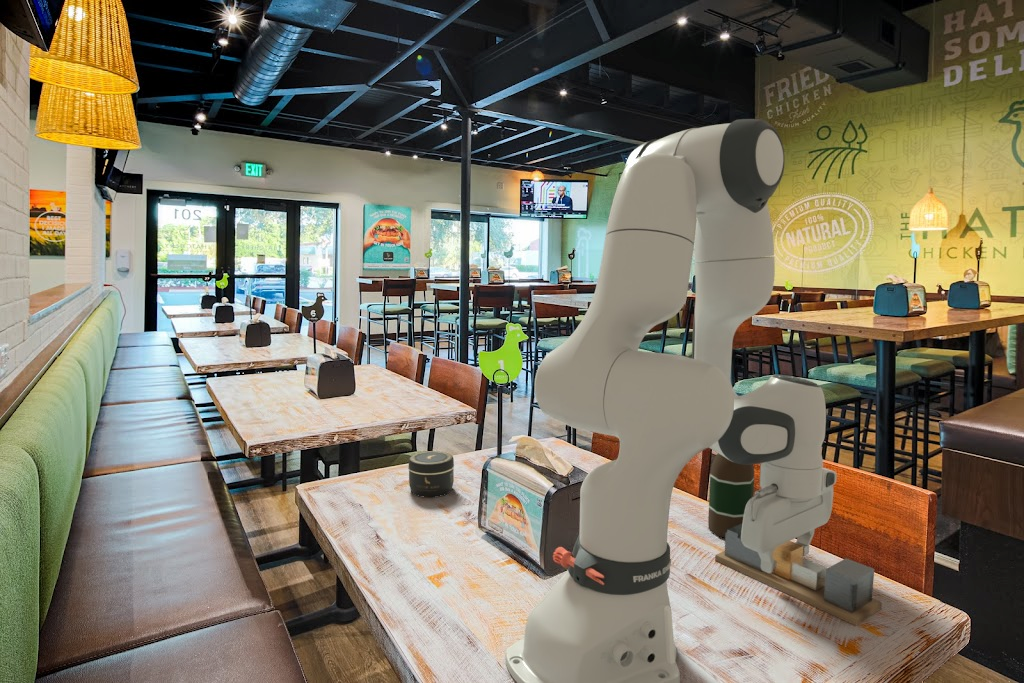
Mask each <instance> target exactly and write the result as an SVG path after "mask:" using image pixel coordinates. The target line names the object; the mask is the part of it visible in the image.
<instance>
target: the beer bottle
mask: <svg viewBox="0 0 1024 683" xmlns="http://www.w3.org/2000/svg"><path fill="white" fill-rule="evenodd" d="M710 466H711V467H710V474H709V498H708V516H707V517H708V525H707V526H708V531H709V532H711V531H712V532H713V533H714V536H716V537H717V536H720V537H719V538H721V537H724V538H723V539H725V535H726V532H727V529H730V528H732V527H735V526H737V525H740V524H742V523H743V517H744V511H745V507H746V504H747V502H748V501H749V499H751V498H752V497H753V496H754V495H755V491H754V490H755V466H754V464H752V465H742V464H737V463H735V462H732V461H730V460H728V459H727V458H725V457H724V456H722V455H720V454H718V453H716V455H715V456H714V459H713V460H712V463H711V464H710ZM712 532H711V533H712ZM713 533H712V534H713Z"/></svg>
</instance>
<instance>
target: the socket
mask: <svg viewBox="0 0 1024 683" xmlns="http://www.w3.org/2000/svg"><path fill="white" fill-rule="evenodd" d="M874 577H875V568H873V567H870V566H867V565H865V564H862V563H860V562H858V561H855V560H852V559H849V558H847V557H845V558H844V559H842V560H840V561H838V562H836V563H834V564H833V565H830V566H829V567H827V569H826V578H825V593H824V601H826V602H828V603H830V604H832V605H834V606H837V607H839V608H841V609H843V610H846V611H848V612H850V613H854V612H855V611H857V610H858V609H860V608H861V607H863V606H864V605H866V604H868V603H869V602H871V601H872V598H873V590H874V579H875V578H874Z"/></svg>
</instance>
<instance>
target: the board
mask: <svg viewBox="0 0 1024 683" xmlns="http://www.w3.org/2000/svg"><path fill="white" fill-rule="evenodd" d="M714 557H715V559H714V561H716V562H717V563H719V564H722V565H724V566H726V567H728V568H730V567H731V569H732V568H733V569H732V570H734V571H738V572H740V573H741V574H743V573H744V574H743V575H745V576H748V577H751V578H752V579H754V580H756V581H758V580H759V582H760V583H763V584H766V585H768V586H769V587H771V586H772V587H771V588H773V587H774V589H776V590H778V591H780V592H782V593H784V594H786V595H788V596H791V597H793V598H795V599H798V600H799V601H802V602H804V603H806V604H809V605H810V606H813V607H814V608H817V609H818V610H821V611H824V612H826V613H828V614H830V615H831V616H832V615H833V616H834V617H836V618H838V619H840V620H843V621H845V622H847V623H849V624H850V625H853V626H858V625H860V624H861V623H862V622H864V621H865V620H867V619H868V618H870V617H871V616H873V615H874V614H875V613H877V612H878V611H880V610H881V609H883V608H882V606H883V601H882V600H879V599H877V598H874V597H872V601H871V602H869V603H868V604H866V605H864V606H863V607H861V608H860V609H858V610H857V611H855V612H854V613H850V612H848V611H846V610H843V609H841V608H839V607H837V606H834V605H832V604H830V603H828V602H826V601H824V593H825V586H823V587H821V588H819V589H818V590H814V589H812V588H809V587H807V586H805V585H802V584H800V583H798V582H796V581H793V580H791V579H790V580H789V579H786V578H784V577H782V576H780V575H777V574H775V573H773V572H772V573H767V572H765V571H764V572H760V571H758V570H756V569H754V568H751V567H749V566H747V565H745V564H743V563H740V562H738V561H736V560H734V559H731V558H729V557H727V556H725V550H723V551H722V552H719V553H717V554H715V556H714Z"/></svg>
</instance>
